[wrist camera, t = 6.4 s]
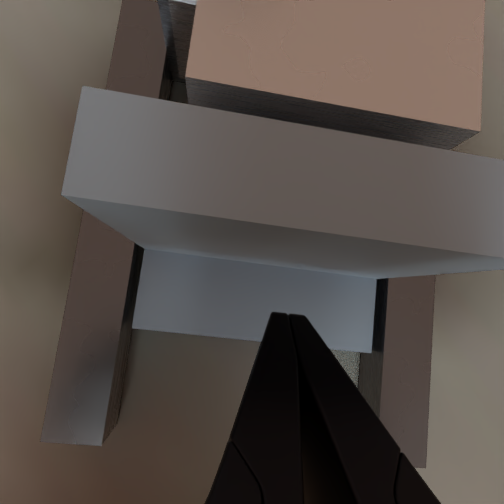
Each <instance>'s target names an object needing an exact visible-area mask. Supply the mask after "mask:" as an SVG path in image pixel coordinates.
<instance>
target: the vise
mask: <svg viewBox="0 0 504 504" xmlns="http://www.w3.org/2000/svg"><path fill="white" fill-rule="evenodd" d="M157 1H158V2H154V1H149V0H122V6H121V11H120V16H119V22H118V27H117V33H116V38H115V43H114V49H113V54H112V59H111V65H110V70H109V75H108V81H107V86H106V90H110V91H116V92H122V93H127V94H133V95H139V96H144V97H150V98H156V99H161V100H167V101H169V96H170V89H171V83H172V81H177V82H183V83H186V80H185V74H186V68H187V61H188V55H189V48H190V42H191V35H192V29H193V23H194V16H195V10H196V3H197V0H157ZM143 255H144V248H142V247H141V246H139V245H138V244H136V243H135V242H133V241H131V240H130V239H128V238H127V237H125V236H124V235H122V234H121V233H119V232H118V231H116V230H114V229H113V228H111V227H110V226H108V225H107V224H105V223H104V222H102V221H101V220H99V219H97V218H96V217H94V216H93V215H91V214H90V213H88V212H87V211H85V210H83V215H82V220H81V226H80V231H79V236H78V242H77V247H76V252H75V258H74V263H73V269H72V274H71V279H70V285H69V290H68V295H67V301H66V306H65V311H64V317H63V322H62V328H61V333H60V338H59V344H58V349H57V354H56V360H55V365H54V370H53V376H52V381H51V387H50V392H49V397H48V403H47V408H46V413H45V419H44V424H43V429H42V435H41V440H40V442H50V443H64V444H79V445H94V446H102V444H103V443H104V441H105V440H106V439H107V437H108V436H109V434H110V433H111V432H112V430H113V429H114V427H115V426H116V424H117V420H118V414H119V408H120V402H121V395H122V389H123V383H124V377H125V370H126V364H127V358H128V352H129V346H130V339H131V333H132V323H133V317H134V311H135V304H136V298H137V292H138V286H139V280H140V273H141V267H142V261H143ZM434 292H435V275H423V276H410V277H396V278H383V279H377V282H376V296H375V310H374V325H373V339H372V353H363V352H361V356H360V370H359V383H358V390H359V391H360V392H361V394H362V395H363V397H364V398H365V399H366V401H367V402H368V404H369V405H370V406H371V408H372V409H373V411H374V412H375V414H376V415H377V416H378V418H379V419H380V421H381V422H382V423H383V425H384V426H385V428H386V429H387V430H388V432H389V433H390V435H391V436H392V437H393V439H394V440H395V442H396V443H397V444H398V446H399V447H400V449H401V452H403V453H404V454H405V455H406V457H407V458H408V460H409V461H410V462H411V464H412V465H413V467H416V468H426V457H427V437H428V416H429V395H430V375H431V354H432V333H433V313H434ZM401 452H400V453H401Z"/></svg>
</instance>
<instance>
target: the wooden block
mask: <svg viewBox="0 0 504 504" xmlns="http://www.w3.org/2000/svg"><path fill="white" fill-rule="evenodd" d="M484 11H485V0H197V3H196V10H195V16H194V23H193V29H192V35H191V42H190V48H189V55H188V61H187V68H186V74H185V80H186V89H187V97H188V104H190V105H195V106H201V107H207V108H212V109H218V110H224V111H229V112H235V113H241V114H246V115H252V116H258V117H263V118H269V119H275V120H280V121H286V122H292V123H298V124H303V125H309V126H315V127H320V128H326V129H332V130H337V131H343V132H349V133H354V134H360V135H366V136H371V137H377V138H383V139H388V140H394V141H400V142H405V143H411V144H417V145H422V146H428V147H434V148H439V149H445V150H450V149H452V148H453V147H455V146H457V145H458V144H460V143H462V142H463V141H465V140H467V139H468V138H470V137H472V136H474V135H475V134H477V133H479V132H480V131H481V102H482V71H483V41H484Z"/></svg>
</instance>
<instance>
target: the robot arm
mask: <svg viewBox="0 0 504 504" xmlns="http://www.w3.org/2000/svg"><path fill="white" fill-rule="evenodd" d="M400 452H401V449H400V447H399V446H398V444H397V443H396V442H395V440H394V439H393V437H392V436H391V435H390V433H389V432H388V430H387V429H386V428H385V426H384V425H383V423H382V422H381V421H380V419H379V418H378V416H377V415H376V414H375V412H374V411H373V409H372V408H371V406H370V405H369V404H368V402H367V401H366V399H365V398H364V397H363V395H362V394H361V392H360V391H359V390H358V388H357V387H356V385H355V384H354V383H353V381H352V380H351V378H350V377H349V376H348V374H347V373H346V371H345V370H344V369H343V367H342V366H341V364H340V363H339V362H338V360H337V359H336V357H335V356H334V355H333V353H332V352H331V350H330V349H329V348H328V346H327V345H326V343H325V342H324V341H323V339H322V338H321V336H320V335H319V334H318V332H317V331H316V329H315V328H314V327H313V325H312V324H311V322H310V321H309V320H308V318H307V317H306V316H305V315H301V314H292V313H291V314H287V313H282V312H271V314H270V317H269V320H268V323H267V326H266V329H265V332H264V335H263V338H262V341H261V344H260V347H259V350H258V353H257V356H256V359H255V362H254V365H253V368H252V371H251V374H250V377H249V380H248V383H247V386H246V389H245V392H244V395H243V398H242V401H241V404H240V407H239V410H238V413H237V416H236V419H235V422H234V425H233V428H232V431H231V434H230V437H229V440H228V442H227V445H226V448H225V451H224V454H223V457H222V460H221V463H220V466H219V468H218V471H217V474H216V476H215V479H214V482H213V484H212V487H211V490H210V492H209V495H208V497H207V499H206V501H205V504H441V503H440V502H439V500H438V499H437V498H436V496H435V495H434V494H433V492H432V491H431V490H430V488H429V487H428V486H427V484H426V483H425V481H424V480H423V479H422V477H421V476H420V475H419V473H418V472H417V471H416V469H415V468H414V467H413V465H412V464H411V462H410V461H409V460H408V458H407V457H406V455H405V454H404V453H403V452H401V453H400Z"/></svg>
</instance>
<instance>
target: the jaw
mask: <svg viewBox="0 0 504 504" xmlns="http://www.w3.org/2000/svg"><path fill="white" fill-rule="evenodd" d="M61 195H62V196H63V197H65V198H67V199H68V200H70V201H71V202H73V203H74V204H76V205H77V206H79V207H80V208H82V209H84V210H85V211H87V212H88V213H90V214H91V215H93V216H94V217H96V218H97V219H99V220H101V221H102V222H104V223H105V224H107V225H108V226H110V227H111V228H113V229H114V230H116V231H118V232H119V233H121V234H122V235H124V236H125V237H127V238H128V239H130V240H131V241H133V242H135V243H136V244H138V245H139V246H141V247H142V248H144V255H143V261H142V267H141V273H140V280H139V286H138V292H137V298H136V304H135V311H134V317H133V323H132V328H134V329H144V330H153V331H163V332H172V333H182V334H191V335H201V336H211V337H220V338H230V339H239V340H249V341H258V342H261V341H262V338H263V335H264V332H265V329H266V326H267V323H268V320H269V317H270V314H271V312H282V313H287V314H291V313H292V314H301V315H305V316H306V317H307V318H308V320H309V321H310V322H311V324H312V325H313V327H314V328H315V329H316V331H317V332H318V334H319V335H320V336H321V338H322V339H323V341H324V342H325V343H326V345H327V346H328V348H329V349H335V350H344V351H354V352H363V353H372V339H373V325H374V310H375V296H376V282H377V279H383V278H396V277H410V276H423V275H437V274H450V273H464V272H477V271H491V270H504V160H502V159H496V158H490V157H485V156H479V155H473V154H468V153H462V152H456V151H451V150H445V149H439V148H434V147H428V146H422V145H417V144H411V143H405V142H400V141H394V140H388V139H383V138H377V137H371V136H366V135H360V134H354V133H349V132H343V131H337V130H332V129H326V128H320V127H315V126H309V125H303V124H298V123H292V122H286V121H280V120H275V119H269V118H263V117H258V116H252V115H246V114H241V113H235V112H229V111H224V110H218V109H212V108H207V107H201V106H195V105H190V104H184V103H178V102H173V101H167V100H161V99H156V98H150V97H144V96H139V95H133V94H127V93H122V92H116V91H110V90H105V89H99V88H93V87H88V86H82V90H81V95H80V101H79V106H78V111H77V116H76V121H75V126H74V131H73V136H72V141H71V146H70V151H69V157H68V162H67V167H66V172H65V177H64V182H63V187H62V192H61Z"/></svg>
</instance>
